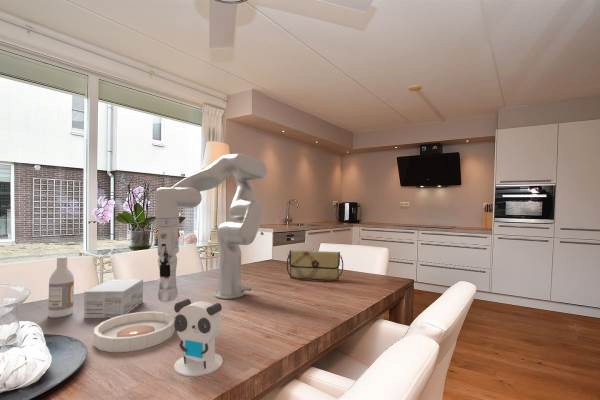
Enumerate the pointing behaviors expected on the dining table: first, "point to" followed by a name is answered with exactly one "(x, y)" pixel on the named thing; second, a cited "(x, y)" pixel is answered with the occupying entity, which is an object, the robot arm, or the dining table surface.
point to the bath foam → (61, 290)
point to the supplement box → (113, 298)
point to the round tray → (133, 331)
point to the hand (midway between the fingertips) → (167, 273)
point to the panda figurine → (197, 337)
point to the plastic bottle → (168, 282)
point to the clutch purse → (314, 265)
